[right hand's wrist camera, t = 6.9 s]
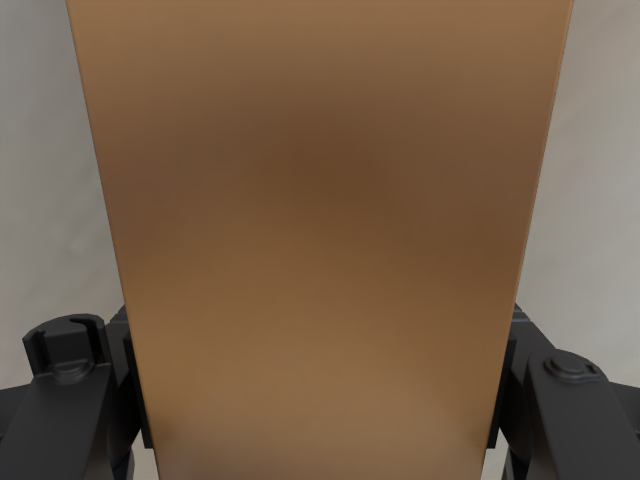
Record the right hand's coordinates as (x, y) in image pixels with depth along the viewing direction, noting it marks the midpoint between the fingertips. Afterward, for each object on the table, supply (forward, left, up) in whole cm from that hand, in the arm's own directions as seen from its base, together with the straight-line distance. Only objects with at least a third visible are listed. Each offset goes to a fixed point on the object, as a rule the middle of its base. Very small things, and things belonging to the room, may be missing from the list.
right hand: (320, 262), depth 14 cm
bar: (+4, +7, 0) cm, 8 cm away
